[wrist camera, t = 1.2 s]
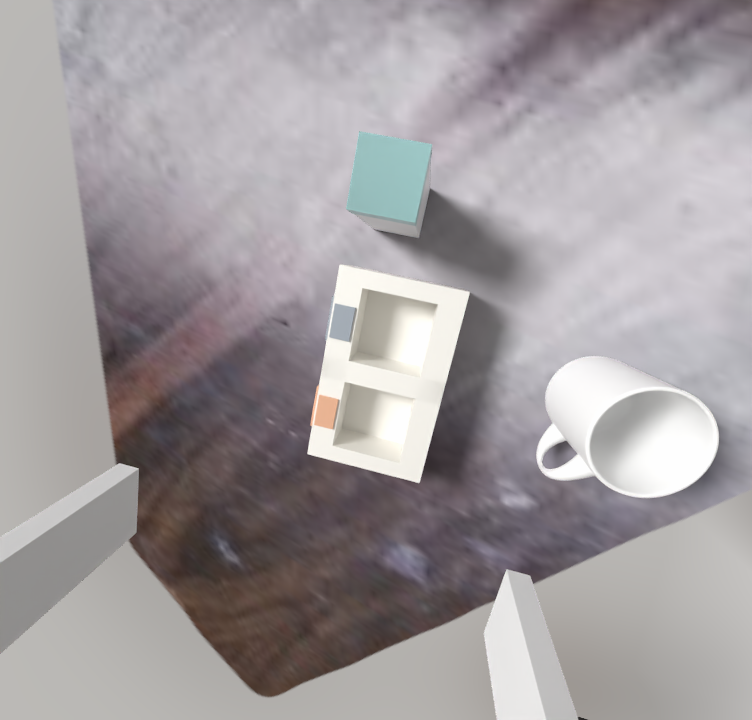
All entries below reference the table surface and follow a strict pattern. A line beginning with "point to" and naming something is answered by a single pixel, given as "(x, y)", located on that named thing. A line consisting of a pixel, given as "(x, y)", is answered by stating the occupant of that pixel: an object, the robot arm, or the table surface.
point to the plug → (390, 183)
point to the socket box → (384, 370)
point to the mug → (627, 429)
